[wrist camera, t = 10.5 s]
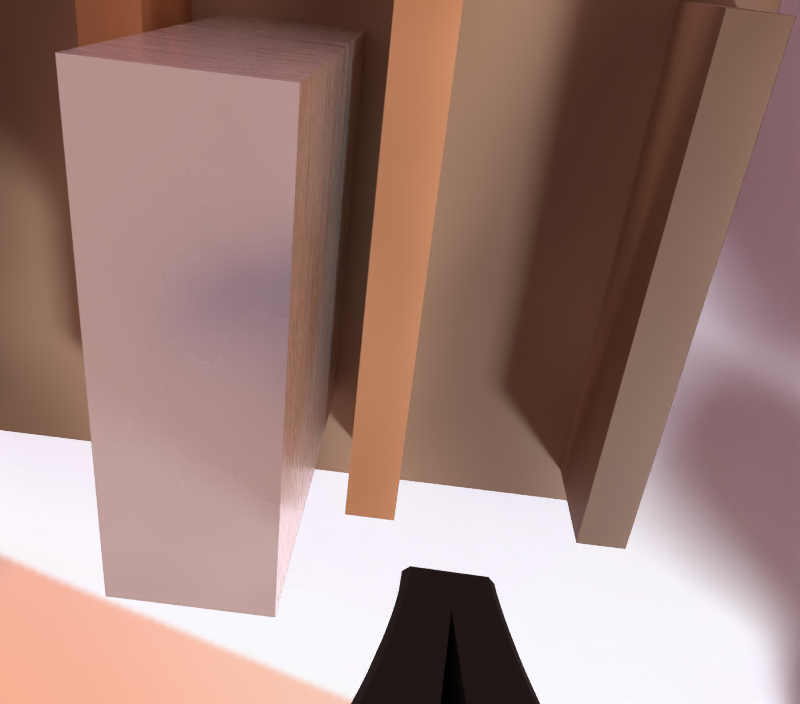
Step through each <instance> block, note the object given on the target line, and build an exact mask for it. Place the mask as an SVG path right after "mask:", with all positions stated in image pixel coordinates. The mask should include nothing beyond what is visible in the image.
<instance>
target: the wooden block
mask: <svg viewBox="0 0 800 704" xmlns="http://www.w3.org/2000/svg"><path fill="white" fill-rule="evenodd" d="M364 36H365V31H361V30H353V29H345V28H337V27H329V26H321V25H313V24H305V23H297V22H289V21H281V20H273V19H265V18H257V17H249V16H241V15H232V14H223V15H219V16H215V17H210V18H206V19H201V20H197V21H192V22H188V23H184V24H179V25H175V26H170V27H166V28H161V29H157V30H153V31H148V32H144V33H139V34H135V35H130V36H126V37H122V38H117V39H113V40H108V41H104V42H99V43H95V44H91V45H86V46H82V47H77V48H73V49H68V50H64V51H60V52H55V56H56V67H57V77H58V88H59V99H60V110H61V120H62V131H63V142H64V153H65V163H66V174H67V185H68V196H69V206H70V217H71V228H72V239H73V249H74V260H75V271H76V282H77V292H78V303H79V314H80V325H81V335H82V346H83V357H84V367H85V378H86V389H87V400H88V410H89V421H90V432H91V443H92V453H93V464H94V475H95V486H96V496H97V507H98V518H99V529H100V539H101V550H102V561H103V572H104V582H105V593H106V596H109V597H117V598H125V599H133V600H141V601H149V602H157V603H165V604H173V605H181V606H189V607H197V608H205V609H213V610H221V611H229V612H237V613H245V614H253V615H261V616H269V617H275V615H276V611H277V608H278V604H279V600H280V596H281V593H282V589H283V585H284V581H285V578H286V574H287V570H288V566H289V563H290V559H291V555H292V551H293V548H294V544H295V540H296V536H297V533H298V529H299V525H300V521H301V518H302V514H303V510H304V506H305V503H306V499H307V495H308V491H309V488H310V484H311V480H312V476H313V473H314V469H315V465H316V461H317V458H318V454H319V450H320V446H321V443H322V439H323V435H324V431H325V428H326V424H327V420H328V416H329V412H330V409H331V405H332V401H333V397H334V394H335V390H336V378H337V365H338V353H339V341H340V329H341V317H342V304H343V292H344V280H345V268H346V256H347V244H348V231H349V219H350V207H351V195H352V183H353V170H354V158H355V146H356V134H357V122H358V110H359V97H360V85H361V73H362V61H363V49H364Z"/></svg>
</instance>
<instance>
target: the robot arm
mask: <svg viewBox="0 0 800 704" xmlns="http://www.w3.org/2000/svg"><path fill="white" fill-rule="evenodd" d="M351 704H540V703H539V701H538V698H537V696H536V694H535V692H534V690H533V687H532V685H531V683H530V681H529V678H528V676H527V674H526V672H525V669H524V667H523V665H522V662H521V660H520V657H519V655H518V652H517V650H516V647H515V645H514V642H513V640H512V637H511V634H510V632H509V629H508V626H507V623H506V621H505V618H504V615H503V612H502V609H501V606H500V603H499V599H498V596H497V593H496V589H495V585H494V583H493V582H492V581H491V580H490V578H489V577H483V576H476V575H469V574H462V573H454V572H447V571H440V570H433V569H426V568H418V567H411V566H410V567H408V568H407V569H405V570H403V571H402V574H401V581H400V587H399V592H398V596H397V600H396V603H395V606H394V609H393V612H392V615H391V618H390V621H389V623H388V626H387V629H386V631H385V634H384V636H383V639H382V641H381V643H380V645H379V648H378V650H377V652H376V654H375V657H374V659H373V661H372V663H371V666H370V668H369V670H368V672H367V674H366V676H365V678H364V680H363V682H362V684H361V686H360V688H359V690H358V692H357V694H356V696H355V698H354V699H353V701H352V703H351Z"/></svg>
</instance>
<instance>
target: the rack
mask: <svg viewBox="0 0 800 704" xmlns="http://www.w3.org/2000/svg"><path fill="white" fill-rule="evenodd" d="M780 3H781V0H0V430H4V431H12V432H20V433H28V434H36V435H45V436H53V437H61V438H69V439H77V440H85V441H91V432H90V421H89V410H88V400H87V389H86V378H85V367H84V357H83V346H82V335H81V325H80V314H79V303H78V292H77V282H76V271H75V260H74V249H73V239H72V228H71V217H70V206H69V196H68V185H67V174H66V163H65V153H64V142H63V131H62V120H61V110H60V99H59V88H58V77H57V67H56V56H55V52H60V51H64V50H68V49H73V48H77V47H82V46H86V45H91V44H95V43H99V42H104V41H108V40H113V39H117V38H122V37H126V36H130V35H135V34H139V33H144V32H148V31H153V30H157V29H161V28H166V27H170V26H175V25H179V24H184V23H188V22H192V21H197V20H201V19H206V18H210V17H215V16H219V15H223V14H232V15H241V16H249V17H257V18H265V19H273V20H281V21H289V22H297V23H305V24H313V25H321V26H329V27H337V28H345V29H353V30H361V31H365V36H364V49H363V61H362V73H361V85H360V97H359V110H358V122H357V134H356V146H355V158H354V170H353V183H352V195H351V207H350V219H349V231H348V244H347V256H346V268H345V280H344V292H343V304H342V317H341V329H340V341H339V353H338V365H337V378H336V390H335V394H334V397H333V401H332V405H331V409H330V412H329V416H328V420H327V424H326V428H325V431H324V435H323V439H322V443H321V446H320V450H319V454H318V458H317V461H316V465H315V469H320V470H328V471H336V472H344V473H349V480H348V490H347V501H346V511H345V514H348V515H356V516H364V517H372V518H380V519H388V520H394V516H395V508H396V501H397V493H398V486H399V479H401V480H409V481H417V482H425V483H433V484H441V485H449V486H457V487H465V488H473V489H481V490H489V491H498V492H506V493H514V494H522V495H530V496H538V497H546V498H554V499H562V500H567V502H568V506H569V511H570V515H571V520H572V524H573V529H574V534H575V538H576V543H582V544H590V545H598V546H606V547H614V548H623V549H625V548H626V545H627V542H628V539H629V536H630V533H631V529H632V526H633V523H634V520H635V517H636V514H637V511H638V508H639V504H640V501H641V498H642V495H643V492H644V489H645V486H646V483H647V479H648V476H649V473H650V470H651V467H652V464H653V461H654V458H655V454H656V451H657V448H658V445H659V442H660V439H661V436H662V433H663V429H664V426H665V423H666V420H667V417H668V414H669V411H670V408H671V404H672V401H673V398H674V395H675V392H676V389H677V386H678V383H679V379H680V376H681V373H682V370H683V367H684V364H685V361H686V358H687V354H688V351H689V348H690V345H691V342H692V339H693V336H694V333H695V329H696V326H697V323H698V320H699V317H700V314H701V311H702V308H703V304H704V301H705V298H706V295H707V292H708V289H709V286H710V283H711V279H712V276H713V273H714V270H715V267H716V264H717V261H718V258H719V254H720V251H721V248H722V245H723V242H724V239H725V236H726V233H727V229H728V226H729V223H730V220H731V217H732V214H733V211H734V208H735V204H736V201H737V198H738V195H739V192H740V189H741V186H742V183H743V179H744V176H745V173H746V170H747V167H748V164H749V161H750V158H751V154H752V151H753V148H754V145H755V142H756V139H757V136H758V133H759V129H760V126H761V123H762V120H763V117H764V114H765V111H766V108H767V104H768V101H769V98H770V95H771V92H772V89H773V86H774V83H775V80H776V76H777V73H778V70H779V67H780V64H781V61H782V58H783V55H784V51H785V48H786V45H787V42H788V39H789V36H790V33H791V30H792V26H793V23H794V20H795V17H796V16H790V15H784V14H777V13H778V10H779V6H780Z"/></svg>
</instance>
